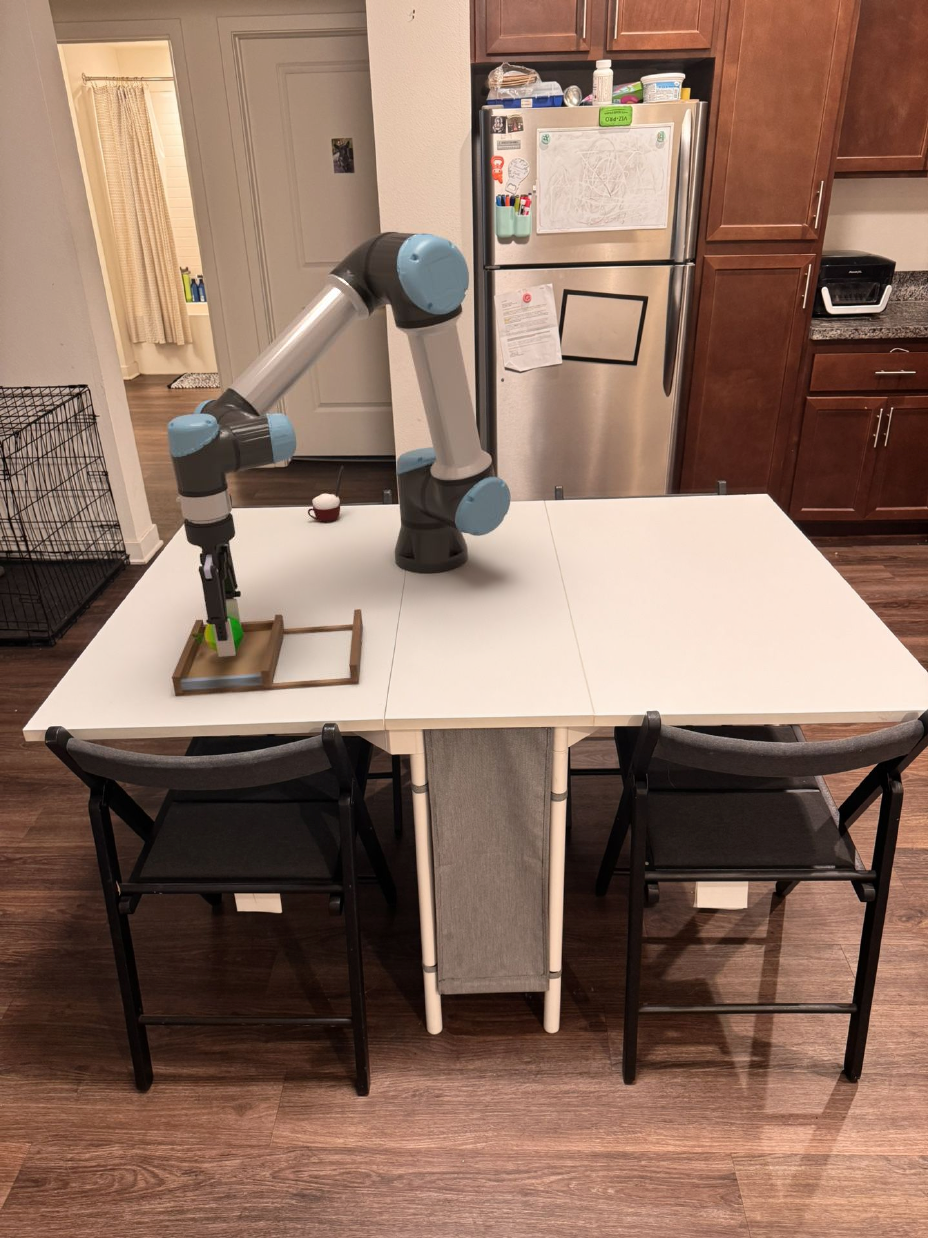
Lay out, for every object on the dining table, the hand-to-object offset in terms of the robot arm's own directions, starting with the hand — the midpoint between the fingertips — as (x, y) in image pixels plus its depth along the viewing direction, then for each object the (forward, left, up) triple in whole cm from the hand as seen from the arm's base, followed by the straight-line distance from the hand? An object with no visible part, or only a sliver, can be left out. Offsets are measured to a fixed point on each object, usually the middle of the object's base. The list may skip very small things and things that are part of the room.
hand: (230, 644), depth 156 cm
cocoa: (-12, -66, -4) cm, 67 cm away
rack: (-7, 0, -3) cm, 8 cm away
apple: (+2, 0, -1) cm, 2 cm away
